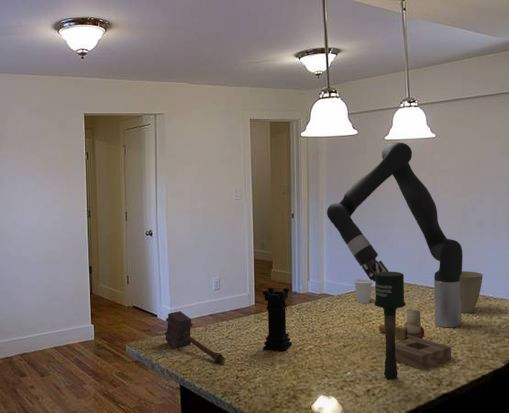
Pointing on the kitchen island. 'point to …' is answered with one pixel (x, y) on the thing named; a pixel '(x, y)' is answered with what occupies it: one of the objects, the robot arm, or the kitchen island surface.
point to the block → (421, 352)
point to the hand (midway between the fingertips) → (388, 287)
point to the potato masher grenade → (389, 312)
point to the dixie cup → (363, 290)
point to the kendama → (400, 331)
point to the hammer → (185, 334)
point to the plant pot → (469, 290)
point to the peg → (413, 323)
